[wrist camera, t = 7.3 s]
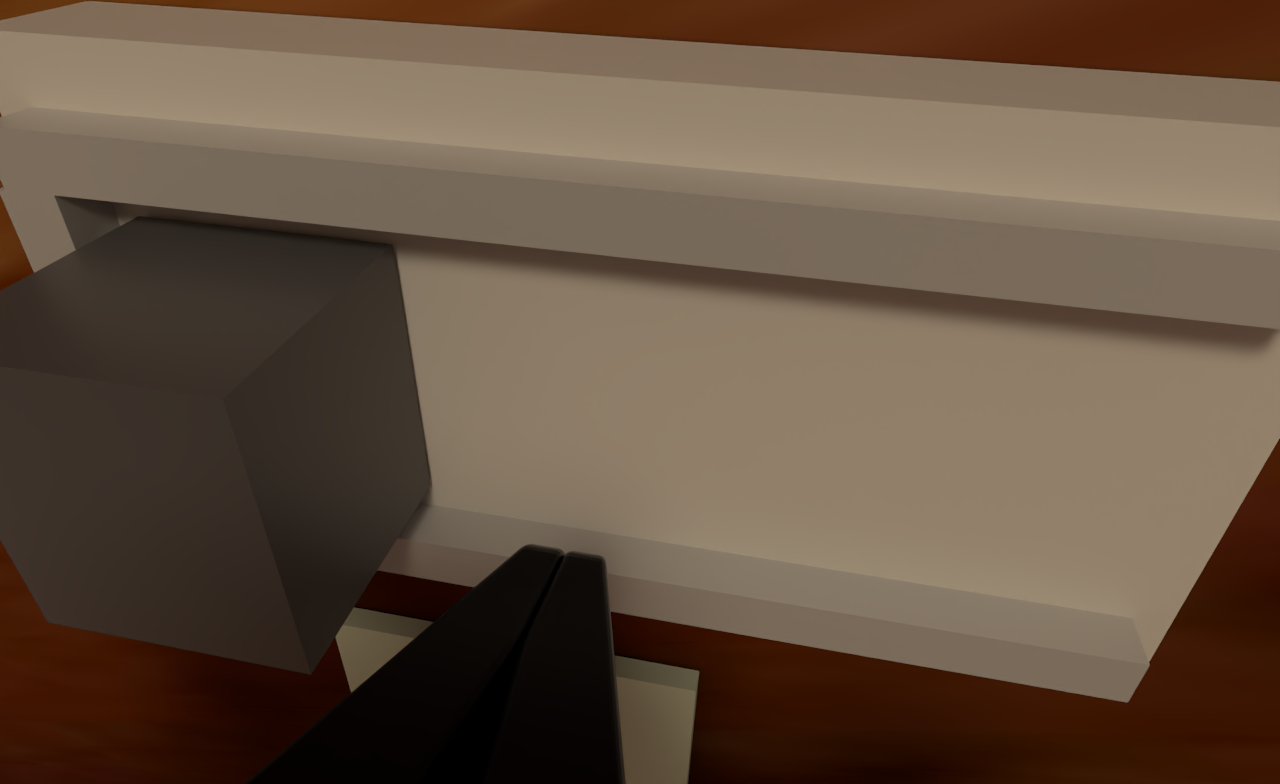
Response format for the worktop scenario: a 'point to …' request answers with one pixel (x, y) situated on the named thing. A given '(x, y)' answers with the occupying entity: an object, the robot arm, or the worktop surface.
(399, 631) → the mat
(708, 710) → the worktop surface
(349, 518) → the switch tab
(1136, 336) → the switch panel
